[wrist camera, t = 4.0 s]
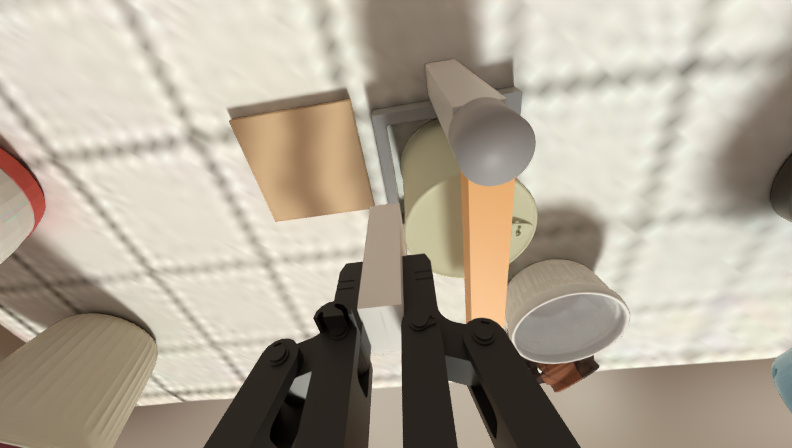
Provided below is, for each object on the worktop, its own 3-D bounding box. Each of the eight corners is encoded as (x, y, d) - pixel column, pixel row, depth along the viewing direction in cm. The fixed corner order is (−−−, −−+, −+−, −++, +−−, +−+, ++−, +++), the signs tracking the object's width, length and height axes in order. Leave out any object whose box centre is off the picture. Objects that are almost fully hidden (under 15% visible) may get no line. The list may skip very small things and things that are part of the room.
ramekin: (492, 259, 38) (510, 303, 32) (604, 240, 36) (644, 283, 31) (496, 325, 45) (511, 370, 40) (590, 311, 44) (619, 356, 38)
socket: (516, 47, 25) (627, 78, 13) (506, 207, 33) (567, 312, 22) (365, 74, 26) (342, 125, 14) (394, 222, 34) (395, 330, 23)
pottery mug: (565, 307, 44) (612, 362, 39) (559, 318, 52) (598, 365, 47) (494, 351, 45) (532, 410, 40) (499, 355, 53) (531, 405, 48)
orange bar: (516, 91, 13) (539, 106, 11) (500, 329, 22) (512, 361, 20) (446, 103, 13) (456, 119, 11) (459, 333, 23) (466, 365, 20)
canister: (130, 286, 40) (-71, 495, 23) (203, 362, 50) (103, 546, 33) (11, 303, 42) (-261, 509, 24) (105, 373, 52) (-40, 554, 35)
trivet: (350, 98, 27) (349, 100, 26) (374, 204, 33) (374, 208, 32) (232, 118, 28) (228, 121, 27) (277, 217, 34) (275, 221, 33)
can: (488, 199, 33) (528, 280, 23) (403, 206, 33) (407, 287, 23) (497, 112, 28) (555, 167, 18) (396, 120, 28) (398, 179, 18)
